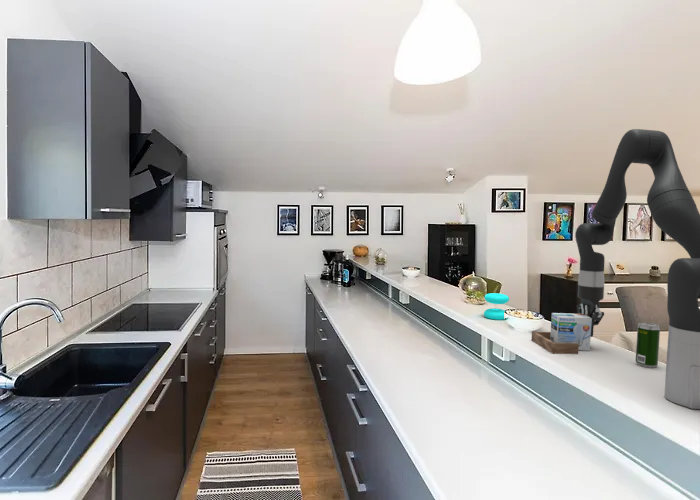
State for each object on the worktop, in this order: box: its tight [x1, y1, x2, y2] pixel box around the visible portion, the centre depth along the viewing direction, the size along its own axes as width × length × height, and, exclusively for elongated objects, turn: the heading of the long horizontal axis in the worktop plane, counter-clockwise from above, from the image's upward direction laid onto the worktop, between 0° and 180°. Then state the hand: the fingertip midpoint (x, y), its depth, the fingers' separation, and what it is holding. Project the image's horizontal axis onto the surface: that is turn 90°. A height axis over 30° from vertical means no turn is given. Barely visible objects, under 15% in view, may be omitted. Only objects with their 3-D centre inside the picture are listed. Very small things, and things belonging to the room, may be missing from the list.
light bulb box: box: [550, 312, 592, 351], centre depth 145 cm, size 11×7×11 cm, turn 86°
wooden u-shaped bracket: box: [530, 331, 579, 355], centre depth 146 cm, size 15×8×3 cm, turn 1°
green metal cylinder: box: [635, 322, 661, 369], centre depth 128 cm, size 5×5×12 cm
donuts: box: [483, 292, 510, 321], centre depth 189 cm, size 10×10×10 cm
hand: (588, 336), depth 146 cm, fingers closed
